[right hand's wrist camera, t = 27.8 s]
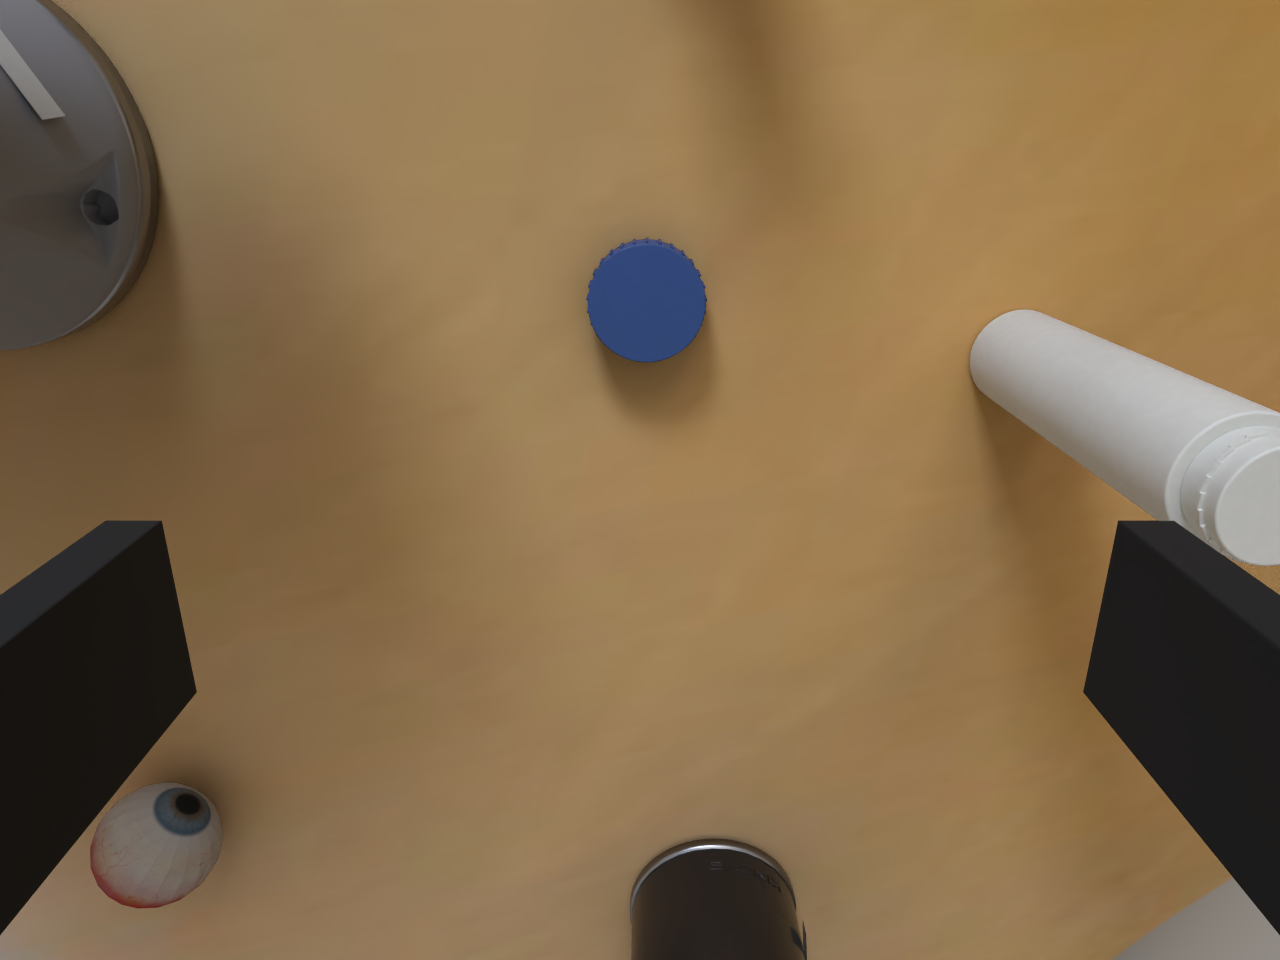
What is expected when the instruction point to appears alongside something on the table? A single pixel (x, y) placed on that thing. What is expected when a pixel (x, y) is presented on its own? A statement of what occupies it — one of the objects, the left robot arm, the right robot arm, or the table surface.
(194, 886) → the eyeball
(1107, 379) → the jar
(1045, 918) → the table surface
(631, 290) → the lid
